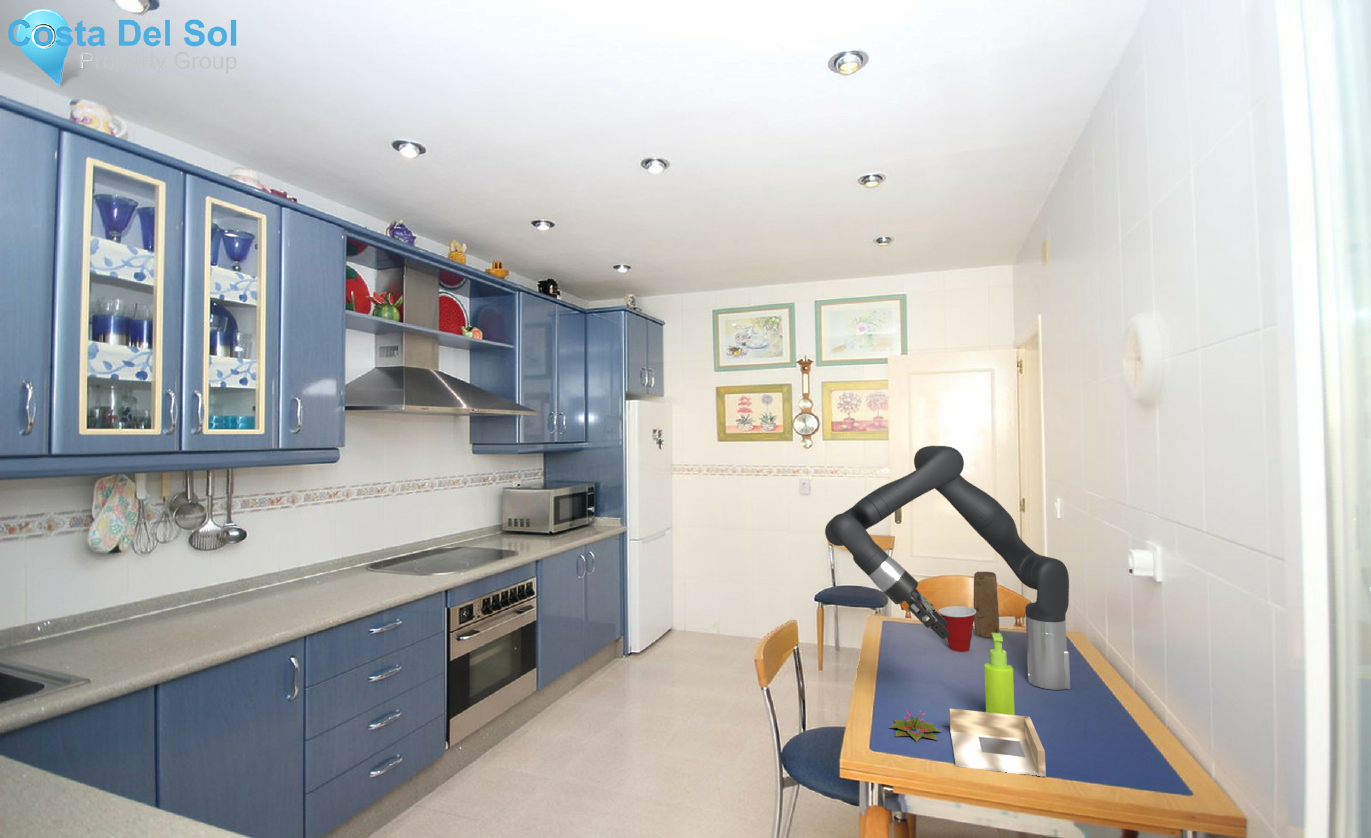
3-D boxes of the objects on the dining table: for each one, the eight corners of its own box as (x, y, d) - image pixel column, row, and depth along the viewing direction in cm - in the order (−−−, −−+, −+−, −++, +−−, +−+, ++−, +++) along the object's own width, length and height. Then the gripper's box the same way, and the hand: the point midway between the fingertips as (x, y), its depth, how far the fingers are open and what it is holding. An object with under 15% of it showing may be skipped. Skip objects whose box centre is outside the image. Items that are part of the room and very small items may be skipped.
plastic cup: (935, 642, 205) (934, 604, 206) (971, 643, 204) (970, 605, 204) (944, 654, 195) (943, 613, 195) (982, 655, 193) (981, 614, 194)
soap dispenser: (1012, 719, 150) (1009, 631, 150) (1017, 732, 143) (1013, 640, 144) (984, 716, 152) (981, 629, 152) (987, 728, 145) (984, 638, 146)
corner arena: (1030, 740, 139) (1029, 716, 139) (1045, 777, 124) (1044, 751, 124) (950, 731, 144) (949, 708, 145) (955, 766, 129) (954, 740, 129)
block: (999, 640, 207) (997, 577, 207) (974, 637, 210) (971, 575, 210) (999, 630, 216) (997, 570, 217) (975, 628, 220) (972, 568, 220)
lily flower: (887, 741, 141) (886, 720, 141) (886, 718, 153) (885, 699, 153) (946, 747, 138) (945, 725, 138) (940, 723, 149) (940, 703, 149)
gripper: (904, 575, 148) (960, 629, 144) (904, 563, 162) (955, 612, 158) (880, 597, 150) (935, 651, 146) (882, 583, 163) (932, 632, 159)
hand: (945, 631), depth 152 cm, fingers open, 8 cm apart
